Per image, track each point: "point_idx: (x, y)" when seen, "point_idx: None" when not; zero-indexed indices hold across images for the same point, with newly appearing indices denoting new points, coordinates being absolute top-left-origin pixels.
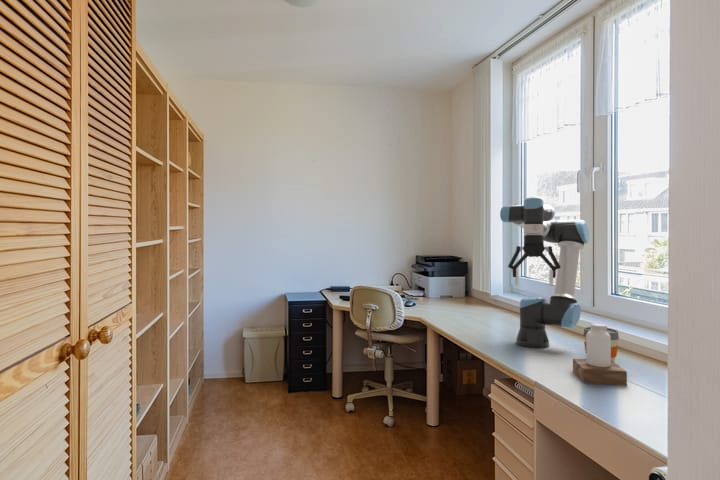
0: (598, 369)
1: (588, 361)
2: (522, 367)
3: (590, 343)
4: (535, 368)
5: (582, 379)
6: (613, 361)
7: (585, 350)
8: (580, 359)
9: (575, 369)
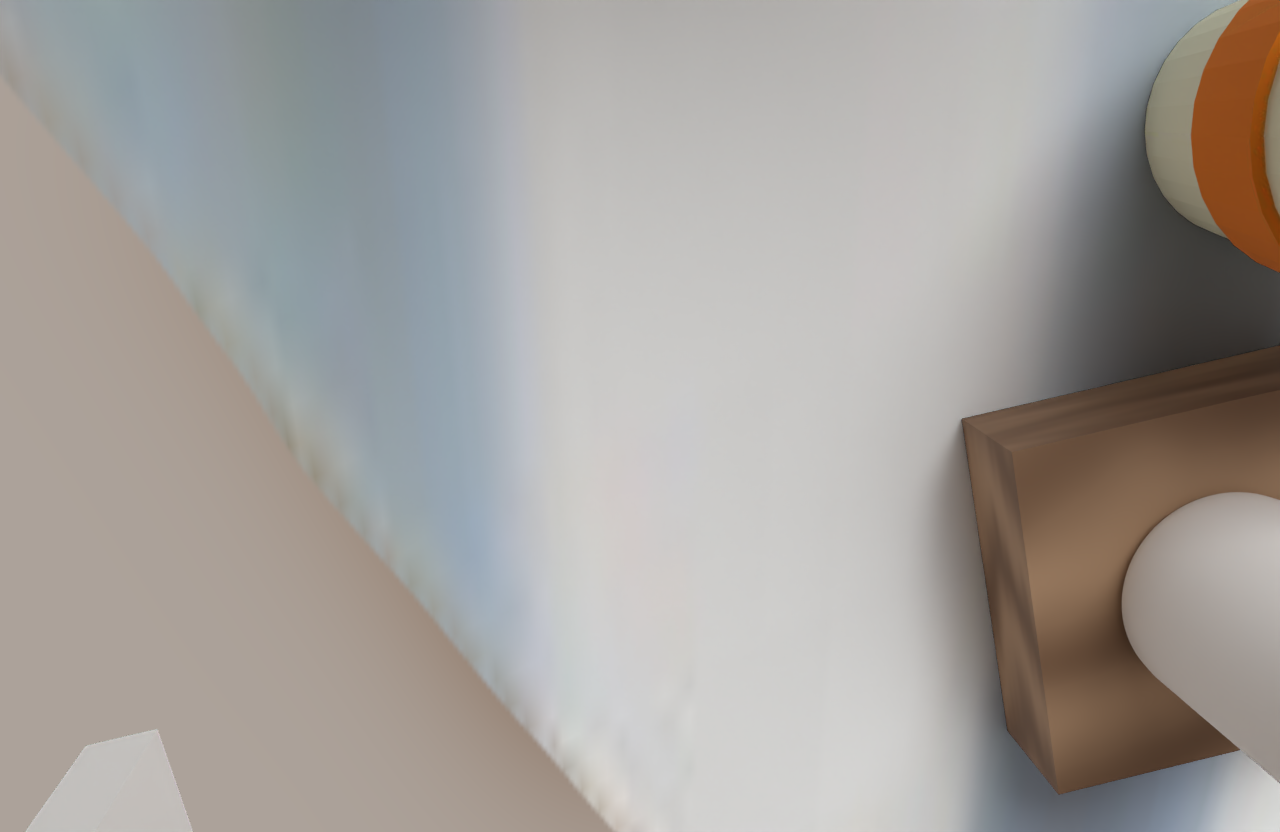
0: (1180, 748)
1: (1140, 654)
2: (492, 485)
3: (1269, 771)
4: (618, 466)
5: (1007, 698)
6: None
7: (1205, 136)
8: (1083, 453)
9: (990, 512)
